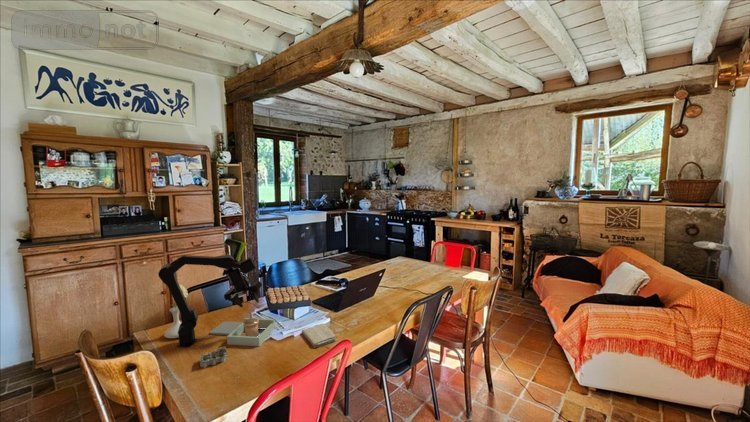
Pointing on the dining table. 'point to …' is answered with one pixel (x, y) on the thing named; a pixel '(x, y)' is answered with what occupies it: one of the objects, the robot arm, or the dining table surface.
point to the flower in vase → (175, 319)
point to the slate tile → (225, 328)
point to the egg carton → (213, 354)
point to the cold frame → (236, 339)
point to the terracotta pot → (251, 327)
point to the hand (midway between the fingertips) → (250, 304)
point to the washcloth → (319, 335)
